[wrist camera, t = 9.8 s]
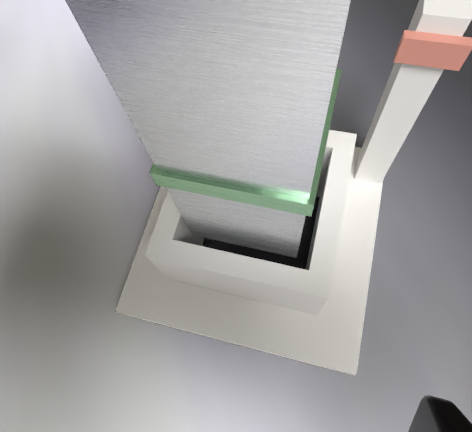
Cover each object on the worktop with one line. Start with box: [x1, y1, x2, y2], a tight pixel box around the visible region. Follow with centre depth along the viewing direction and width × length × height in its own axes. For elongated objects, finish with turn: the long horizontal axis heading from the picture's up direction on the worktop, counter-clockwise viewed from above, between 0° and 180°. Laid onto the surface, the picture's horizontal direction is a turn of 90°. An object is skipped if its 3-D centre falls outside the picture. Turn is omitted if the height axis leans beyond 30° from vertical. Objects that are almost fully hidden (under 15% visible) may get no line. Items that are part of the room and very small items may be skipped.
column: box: [65, 0, 351, 258], centre depth 10 cm, size 4×4×13 cm
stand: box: [115, 0, 472, 375], centre depth 14 cm, size 10×11×10 cm
